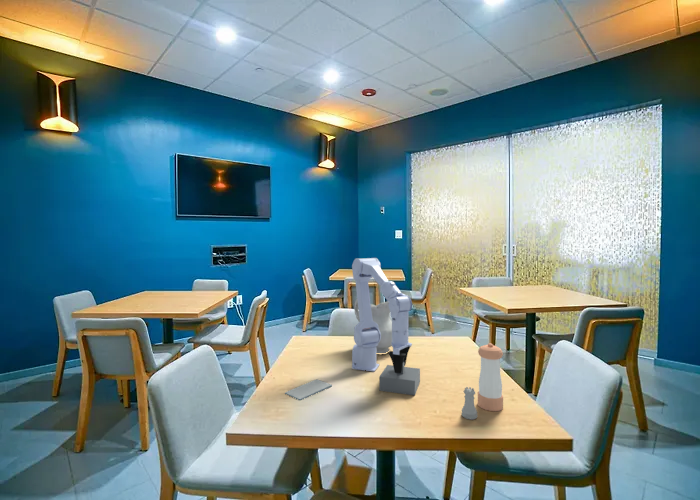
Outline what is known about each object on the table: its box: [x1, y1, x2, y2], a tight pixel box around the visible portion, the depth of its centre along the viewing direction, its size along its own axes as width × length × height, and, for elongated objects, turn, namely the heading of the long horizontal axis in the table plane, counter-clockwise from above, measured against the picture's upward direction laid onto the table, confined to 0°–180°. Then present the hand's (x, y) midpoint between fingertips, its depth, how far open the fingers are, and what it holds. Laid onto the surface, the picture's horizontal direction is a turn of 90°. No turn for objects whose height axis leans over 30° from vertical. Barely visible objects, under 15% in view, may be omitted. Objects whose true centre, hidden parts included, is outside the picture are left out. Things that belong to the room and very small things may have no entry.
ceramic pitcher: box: [353, 298, 392, 353], centre depth 164 cm, size 22×20×25 cm
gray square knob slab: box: [378, 362, 421, 396], centre depth 123 cm, size 12×12×8 cm
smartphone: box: [284, 378, 332, 401], centre depth 120 cm, size 8×1×15 cm
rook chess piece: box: [460, 386, 478, 420], centre depth 101 cm, size 4×4×8 cm
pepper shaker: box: [477, 342, 504, 412], centre depth 107 cm, size 7×7×19 cm
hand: (400, 369), depth 123 cm, fingers open, 7 cm apart
